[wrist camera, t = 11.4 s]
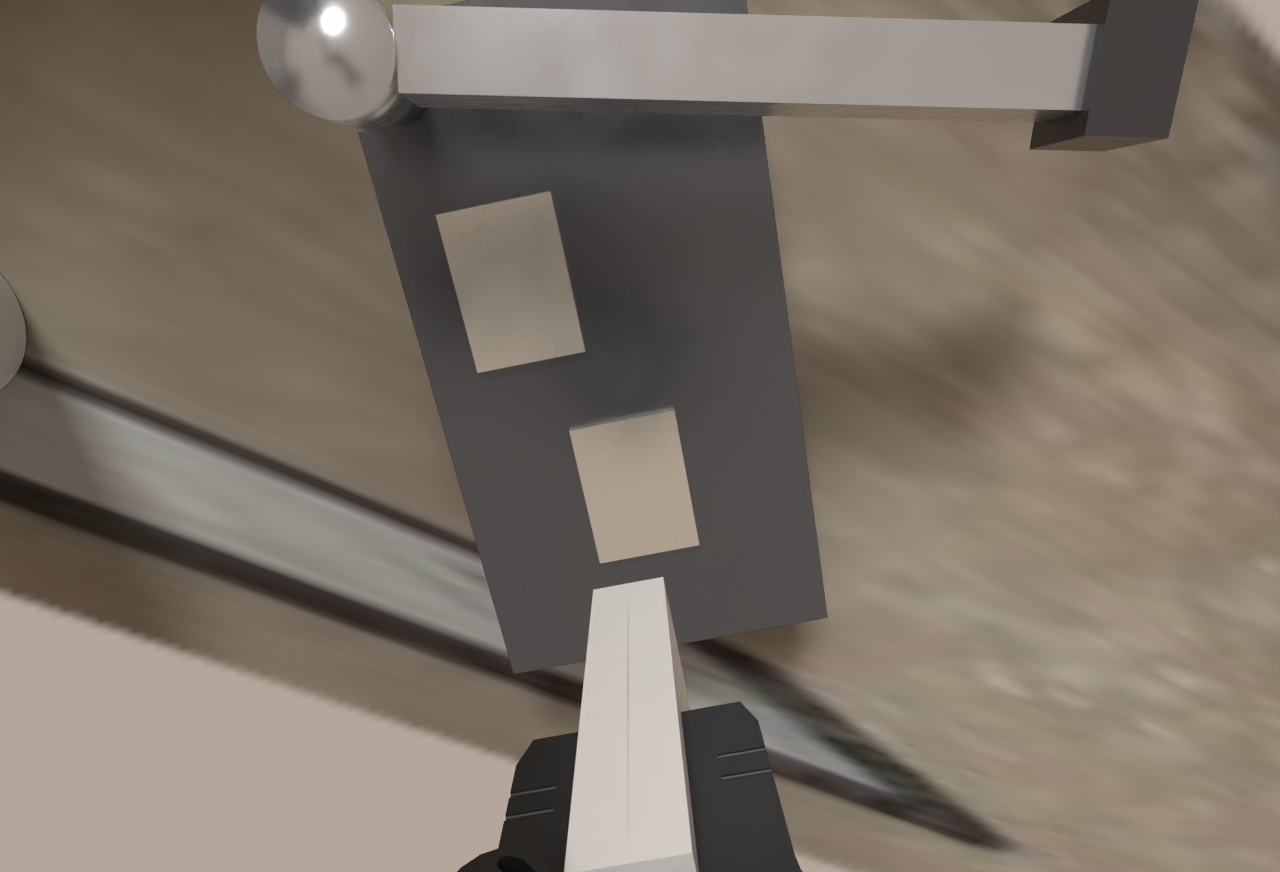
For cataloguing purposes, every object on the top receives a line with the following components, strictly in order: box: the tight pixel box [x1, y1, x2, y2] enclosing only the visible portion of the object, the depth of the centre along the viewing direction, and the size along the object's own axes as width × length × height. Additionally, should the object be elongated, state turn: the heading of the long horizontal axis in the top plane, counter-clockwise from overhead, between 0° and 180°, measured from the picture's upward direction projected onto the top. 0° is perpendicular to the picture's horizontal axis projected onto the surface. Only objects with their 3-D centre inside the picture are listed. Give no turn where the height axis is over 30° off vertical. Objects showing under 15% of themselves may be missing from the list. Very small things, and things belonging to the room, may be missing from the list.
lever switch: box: [358, 0, 828, 674], centre depth 23 cm, size 22×12×8 cm, turn 11°
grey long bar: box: [256, 0, 1198, 151], centre depth 16 cm, size 21×3×2 cm, turn 89°
